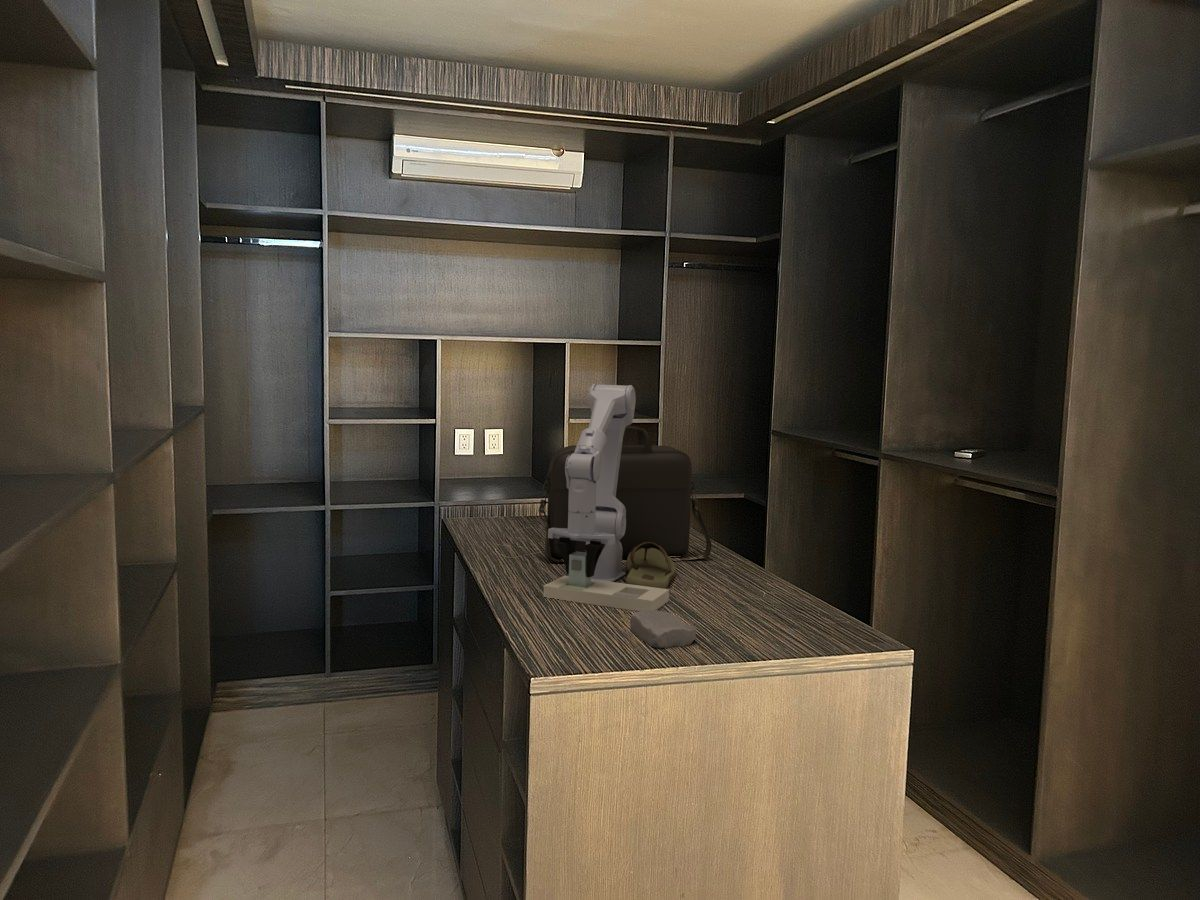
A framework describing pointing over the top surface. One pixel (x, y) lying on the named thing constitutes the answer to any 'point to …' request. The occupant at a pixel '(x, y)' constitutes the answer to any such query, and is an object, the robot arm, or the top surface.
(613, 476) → the robot arm
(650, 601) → the jack block
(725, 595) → the top surface
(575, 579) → the plug
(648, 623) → the stone block
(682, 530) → the laptop bag
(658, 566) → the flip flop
